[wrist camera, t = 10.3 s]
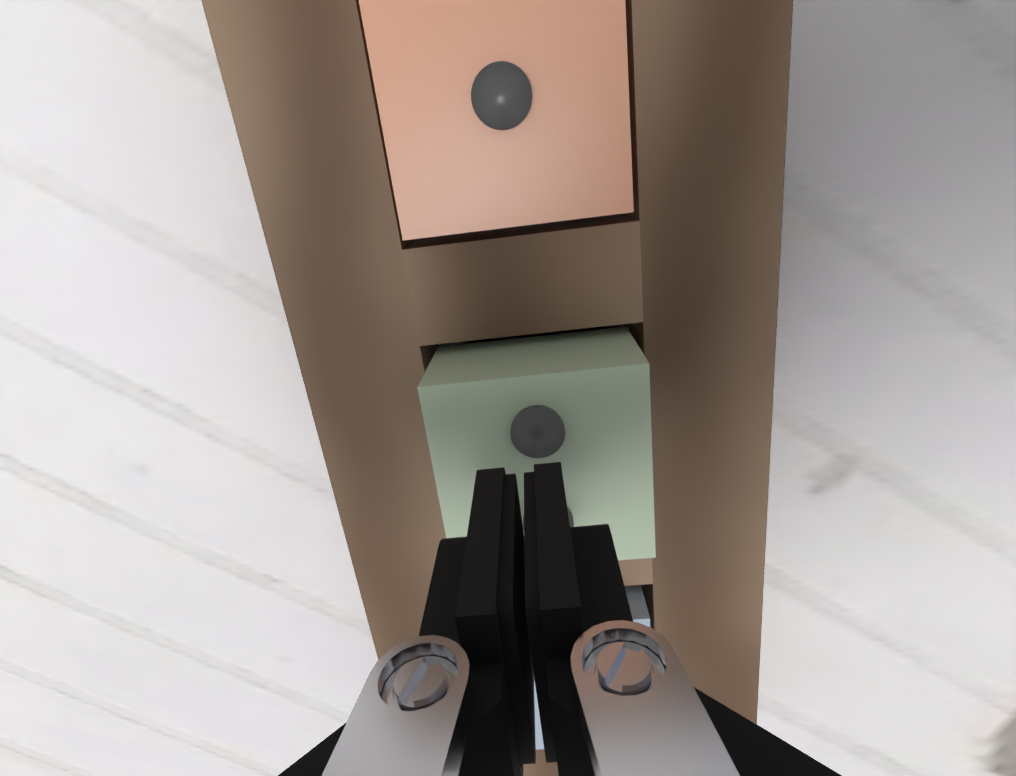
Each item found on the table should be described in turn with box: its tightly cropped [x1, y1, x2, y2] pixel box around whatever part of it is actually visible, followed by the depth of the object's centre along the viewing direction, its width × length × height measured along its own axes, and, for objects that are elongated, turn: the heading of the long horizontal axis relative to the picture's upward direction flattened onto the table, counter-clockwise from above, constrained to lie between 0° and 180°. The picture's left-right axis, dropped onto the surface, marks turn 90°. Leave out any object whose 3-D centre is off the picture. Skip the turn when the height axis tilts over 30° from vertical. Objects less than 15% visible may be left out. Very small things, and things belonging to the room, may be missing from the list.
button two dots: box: [417, 327, 656, 560], centre depth 14 cm, size 5×5×3 cm
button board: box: [202, 0, 793, 776], centre depth 16 cm, size 12×28×2 cm, turn 7°
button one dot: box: [359, 0, 634, 240], centre depth 12 cm, size 5×5×3 cm
